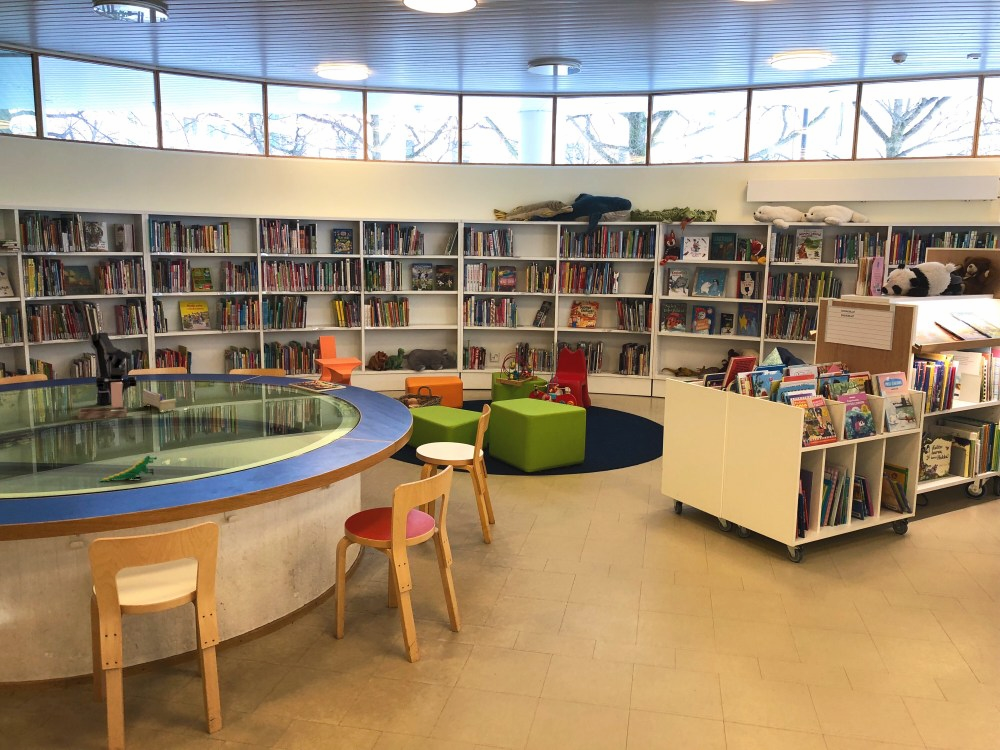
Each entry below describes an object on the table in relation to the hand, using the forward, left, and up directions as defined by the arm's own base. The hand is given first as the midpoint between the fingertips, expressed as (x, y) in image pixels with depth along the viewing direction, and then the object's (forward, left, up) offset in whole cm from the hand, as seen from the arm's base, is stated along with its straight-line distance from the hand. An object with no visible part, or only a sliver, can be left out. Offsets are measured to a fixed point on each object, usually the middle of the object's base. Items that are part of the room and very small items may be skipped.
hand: (116, 395), depth 407 cm
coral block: (-1, -1, -6) cm, 6 cm away
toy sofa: (-24, +2, -11) cm, 27 cm away
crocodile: (+73, +95, -11) cm, 120 cm away
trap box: (+4, -5, -11) cm, 13 cm away
